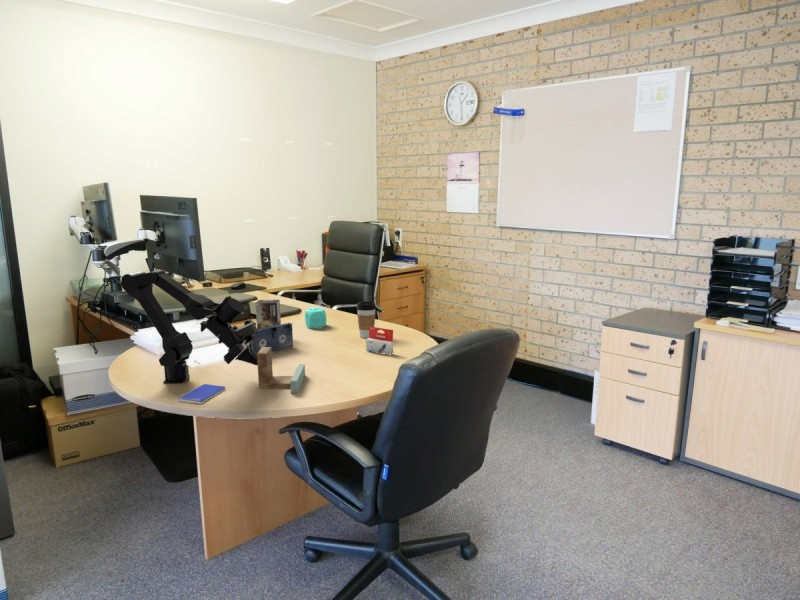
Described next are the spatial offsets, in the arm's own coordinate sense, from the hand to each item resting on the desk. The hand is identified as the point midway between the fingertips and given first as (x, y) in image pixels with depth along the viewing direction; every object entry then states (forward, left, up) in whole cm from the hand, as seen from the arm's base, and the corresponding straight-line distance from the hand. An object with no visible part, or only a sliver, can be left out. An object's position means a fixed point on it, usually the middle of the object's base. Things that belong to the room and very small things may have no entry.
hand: (259, 364), depth 174 cm
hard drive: (-16, -9, -7) cm, 20 cm away
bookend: (+6, 0, -7) cm, 9 cm away
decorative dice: (+8, +73, -7) cm, 74 cm away
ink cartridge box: (+38, +33, -7) cm, 51 cm away
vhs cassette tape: (-4, +35, -7) cm, 36 cm away
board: (+12, 0, -7) cm, 14 cm away
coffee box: (-9, +54, -7) cm, 55 cm away
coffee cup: (+32, +56, -7) cm, 65 cm away
